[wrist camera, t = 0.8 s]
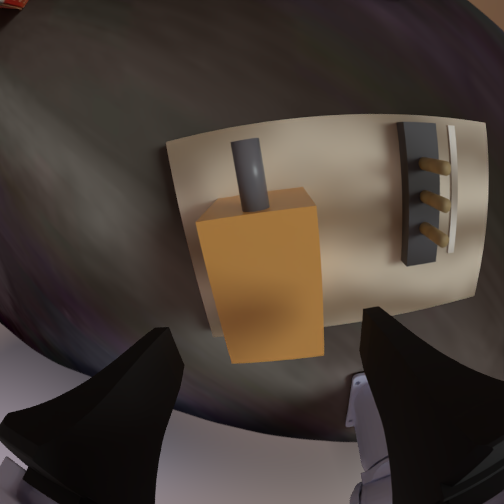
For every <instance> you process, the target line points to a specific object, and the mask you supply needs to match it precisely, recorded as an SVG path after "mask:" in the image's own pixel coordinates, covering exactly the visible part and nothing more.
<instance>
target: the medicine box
mask: <svg viewBox="0 0 504 504" xmlns="http://www.w3.org/2000/svg"><path fill="white" fill-rule="evenodd" d="M28 1H29V0H0V8H10V9H19V10H22V8H24V7H25V5H26V4H27V2H28Z"/></svg>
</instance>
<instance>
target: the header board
mask: <svg viewBox="0 0 504 504" xmlns="http://www.w3.org/2000/svg"><path fill="white" fill-rule="evenodd" d="M251 138H259V141H260V147H261V154H262V160H263V166H264V172H265V179H266V185H267V191H274V190H281V189H289V188H298V187H303V188H304V189H305V190H306V192H307V193H308V195H309V196H310V197H311V199H312V200H313V202H314V203H315V204H316V207H317V217H318V228H319V241H320V254H321V270H322V290H323V319H324V327H327V326H334V325H341V324H347V323H353V322H359V321H362V316H363V309H365V308H371V307H377V306H379V307H381V308H382V309H383V310H384V311H386V312H387V313H388V314H389V315H391V316H392V315H397V314H402V313H407V312H412V311H416V310H421V309H425V308H429V307H434V306H438V305H442V304H446V303H450V302H453V301H457V300H461V299H465V298H468V297H472V296H474V294H475V289H476V285H477V280H478V276H479V270H480V265H481V259H482V253H483V246H484V239H485V230H486V220H487V207H488V147H487V134H486V125H485V123H482V122H476V121H469V120H461V119H453V118H444V117H433V116H420V115H398V114H353V115H331V116H316V117H304V118H294V119H285V120H277V121H269V122H262V123H255V124H249V125H243V126H237V127H231V128H226V129H221V130H216V131H211V132H206V133H202V134H197V135H193V136H188V137H184V138H180V139H176V140H172V141H168V142H166V146H167V152H168V157H169V162H170V167H171V172H172V177H173V182H174V187H175V192H176V196H177V201H178V205H179V210H180V214H181V219H182V223H183V227H184V231H185V236H186V240H187V244H188V248H189V252H190V256H191V260H192V264H193V267H194V271H195V275H196V279H197V282H198V286H199V290H200V293H201V297H202V300H203V304H204V307H205V311H206V314H207V318H208V321H209V324H210V328H211V331H212V334H213V337H224V334H223V330H222V327H221V323H220V319H219V316H218V312H217V308H216V305H215V301H214V297H213V293H212V289H211V285H210V281H209V277H208V273H207V269H206V265H205V261H204V257H203V253H202V248H201V244H200V240H199V236H198V231H197V227H196V221H197V220H198V219H199V218H200V217H201V216H202V215H203V214H204V213H205V212H206V210H207V209H208V208H209V207H210V206H211V205H212V204H213V203H214V202H215V201H216V200H217V199H219V198H226V197H232V196H238V195H239V189H238V184H237V178H236V172H235V166H234V161H233V155H232V149H231V143H230V142H234V141H239V140H244V139H251Z"/></svg>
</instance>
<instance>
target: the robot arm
mask: <svg viewBox="0 0 504 504" xmlns="http://www.w3.org/2000/svg"><path fill="white" fill-rule="evenodd" d="M359 351H360V355H361V360H362V364H363V368H364V373H359V374H356V375H354V376H353V378H352V384H351V391H350V398H349V405H348V411H347V417H346V422H345V425H346V427H353V426H354V427H355V432H356V437H357V442H358V447H359V453H360V459H361V463H362V467H363V468H364V470H365V472H363V473H361V478H362V482H360V483H358V484H357V485H356V486H355V488H354V491H353V492H352V495H351V497H350V504H504V381H501V380H498V379H495V378H492V377H490V376H487V375H484V374H482V373H480V372H477V371H475V370H473V369H471V368H468V367H466V366H464V365H462V364H460V363H459V362H457V361H455V360H453V359H451V358H450V357H448V356H446V355H444V354H443V353H441V352H439V351H438V350H436V349H435V348H433V347H432V346H430V345H429V344H427V343H426V342H425V341H423V340H422V339H420V338H419V337H418V336H416V335H415V334H414V333H412V332H411V331H410V330H408V329H407V328H406V327H405V326H403V325H402V324H401V323H399V322H398V321H397V320H396V319H394V318H393V317H392V316H391V315H389V314H388V313H387V312H386V311H384V310H383V309H382V308H381V307H379V306H377V307H371V308H365V309H363V316H362V329H361V341H360V350H359ZM183 370H184V363H183V361H182V358H181V356H180V354H179V351H178V349H177V346H176V344H175V342H174V339H173V337H172V334H171V331H170V329H169V327H160V328H154V329H153V330H151V331H150V332H148V333H147V334H146V335H145V336H143V337H142V338H141V339H140V340H139V341H137V342H136V343H135V344H134V345H133V346H131V347H130V348H129V349H128V350H127V351H125V352H124V353H123V354H122V355H121V356H119V357H118V358H117V359H116V360H114V361H113V362H112V363H111V364H109V365H108V366H107V367H105V368H104V369H103V370H101V371H100V372H99V373H97V374H96V375H95V376H93V377H92V378H90V379H89V380H87V381H86V382H84V383H82V384H81V385H79V386H77V387H76V388H74V389H72V390H70V391H68V392H66V393H64V394H62V395H60V396H58V397H56V398H54V399H52V400H49V401H47V402H44V403H42V404H39V405H36V406H33V407H30V408H26V409H23V410H19V411H15V412H11V413H8V414H7V415H6V416H5V418H4V419H3V421H2V422H1V424H0V441H1V442H2V443H3V444H4V445H5V446H6V447H7V448H8V449H9V450H10V451H11V452H12V453H13V454H14V455H16V456H17V457H18V458H19V459H20V460H21V461H22V462H24V463H25V464H26V465H27V466H28V469H27V471H26V470H25V469H23V468H22V467H20V466H19V465H18V464H16V463H15V462H14V461H13V460H11V459H10V458H9V457H5V459H4V461H3V462H2V464H1V466H0V504H155V490H156V478H157V470H158V463H159V457H160V452H161V446H162V441H163V437H164V434H165V430H166V427H167V425H168V421H169V419H170V416H171V413H172V410H173V407H174V404H175V401H176V398H177V395H178V392H179V389H180V386H181V381H182V376H183Z"/></svg>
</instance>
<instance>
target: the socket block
mask: <svg viewBox="0 0 504 504" xmlns="http://www.w3.org/2000/svg"><path fill="white" fill-rule="evenodd" d="M230 143H231V149H232V155H233V161H234V166H235V172H236V178H237V184H238V189H239V195H238V196H232V197H226V198H219V199H217V200H216V201H215V202H214V203H213V204H212V205H211V206H210V207H209V208H208V209H207V210H206V212H205V213H204V214H203V215H202V216H201V217H200V218H199V219H198V220H197V221H196V227H197V231H198V236H199V240H200V244H201V248H202V253H203V257H204V261H205V265H206V269H207V273H208V277H209V281H210V285H211V289H212V293H213V297H214V301H215V305H216V308H217V312H218V316H219V319H220V323H221V327H222V330H223V334H224V337H225V341H226V345H227V348H228V351H229V355H230V358H231V362H232V363H252V362H266V361H278V360H289V359H298V358H307V357H315V356H323V355H324V319H323V290H322V270H321V254H320V241H319V228H318V217H317V207H316V204H315V203H314V202H313V200H312V199H311V197H310V196H309V195H308V193H307V192H306V190H305V189H304V188H303V187H298V188H289V189H281V190H274V191H267V185H266V179H265V172H264V166H263V160H262V154H261V147H260V141H259V138H251V139H244V140H239V141H234V142H230Z"/></svg>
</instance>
